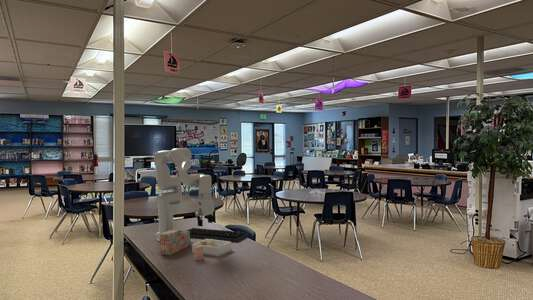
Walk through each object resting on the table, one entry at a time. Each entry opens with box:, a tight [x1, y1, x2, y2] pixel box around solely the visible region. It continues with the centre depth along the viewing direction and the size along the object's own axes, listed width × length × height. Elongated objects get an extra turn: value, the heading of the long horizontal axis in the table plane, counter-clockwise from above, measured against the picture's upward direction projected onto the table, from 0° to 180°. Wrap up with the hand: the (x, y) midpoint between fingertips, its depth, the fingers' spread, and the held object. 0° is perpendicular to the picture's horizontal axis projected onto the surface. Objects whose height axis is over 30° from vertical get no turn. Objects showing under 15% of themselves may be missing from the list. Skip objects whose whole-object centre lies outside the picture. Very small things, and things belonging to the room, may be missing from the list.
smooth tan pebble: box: [193, 246, 204, 262], centre depth 201 cm, size 5×5×7 cm
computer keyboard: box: [186, 227, 249, 243], centre depth 250 cm, size 45×16×4 cm, turn 67°
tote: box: [191, 239, 232, 257], centre depth 215 cm, size 18×14×5 cm
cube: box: [199, 239, 212, 247], centre depth 217 cm, size 5×5×5 cm
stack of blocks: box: [159, 228, 191, 256], centre depth 220 cm, size 21×6×12 cm, turn 158°
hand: (205, 224), depth 217 cm, fingers open, 9 cm apart
